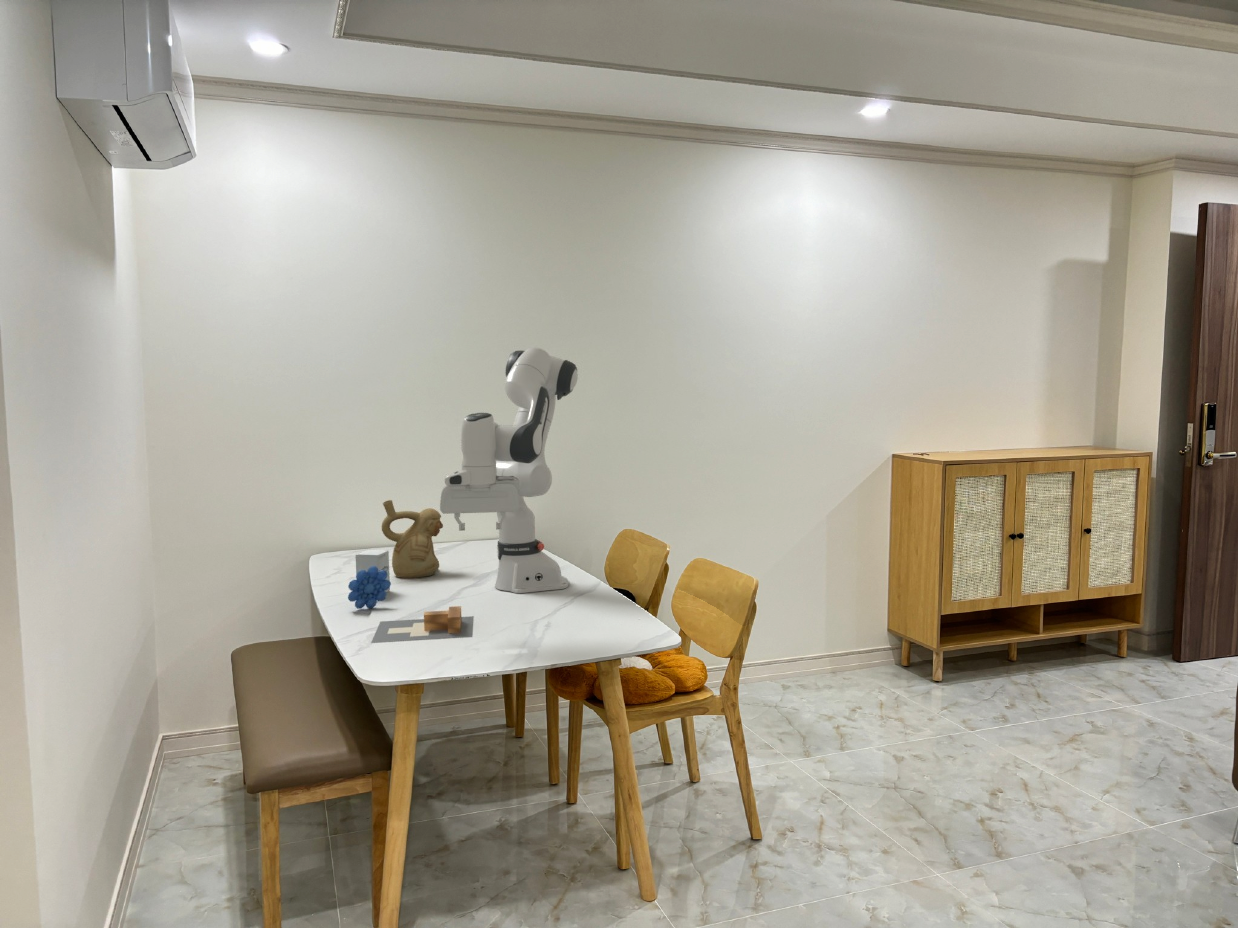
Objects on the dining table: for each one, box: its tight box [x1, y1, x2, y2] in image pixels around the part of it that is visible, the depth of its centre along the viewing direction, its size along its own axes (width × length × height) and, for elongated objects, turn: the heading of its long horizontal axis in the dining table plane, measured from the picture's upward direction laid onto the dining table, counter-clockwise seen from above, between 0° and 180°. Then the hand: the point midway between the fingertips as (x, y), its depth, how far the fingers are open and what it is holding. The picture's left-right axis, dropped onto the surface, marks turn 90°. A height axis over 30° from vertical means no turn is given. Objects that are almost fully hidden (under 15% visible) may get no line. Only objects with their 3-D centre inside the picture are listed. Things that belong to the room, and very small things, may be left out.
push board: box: [370, 615, 474, 644], centre depth 216 cm, size 24×18×1 cm
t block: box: [423, 605, 462, 633], centre depth 216 cm, size 9×10×4 cm
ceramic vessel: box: [381, 499, 444, 579], centre depth 278 cm, size 17×20×25 cm
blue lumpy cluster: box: [347, 566, 392, 610], centre depth 239 cm, size 12×7×12 cm, turn 110°
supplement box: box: [355, 549, 391, 593], centre depth 255 cm, size 7×7×13 cm
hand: (480, 529), depth 221 cm, fingers open, 8 cm apart
